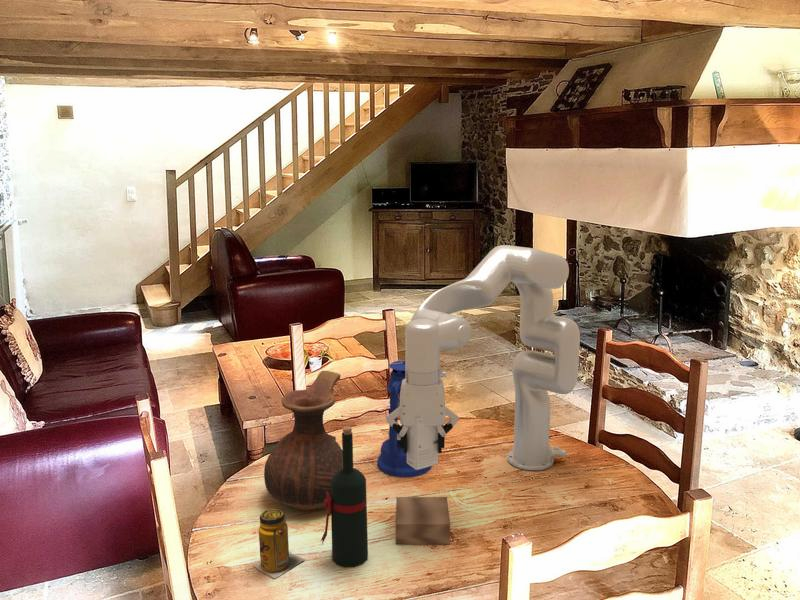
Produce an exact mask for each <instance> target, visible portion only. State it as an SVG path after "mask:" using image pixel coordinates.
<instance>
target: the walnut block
mask: <svg viewBox="0 0 800 600" xmlns="http://www.w3.org/2000/svg"><path fill="white" fill-rule="evenodd" d="M395 500H396V501H395V545H450V544H451V521H450V512H449V504H448V503H449V502H448V496H397V497H396V499H395Z"/></svg>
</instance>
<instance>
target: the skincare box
mask: <svg viewBox="0 0 800 600" xmlns="http://www.w3.org/2000/svg"><path fill="white" fill-rule="evenodd" d="M438 433H439V431H438V429H437V428H436V426H425V425H424V421H423V418H414V424H413V426H409V428H408V430H407V464H409V465H410V466H411V467H413V468H414V469H416V470H419V469H422V468H426V467H429V466H432V467H433V466H435V465H438V463H439V453H438Z"/></svg>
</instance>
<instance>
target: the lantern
mask: <svg viewBox="0 0 800 600" xmlns="http://www.w3.org/2000/svg"><path fill="white" fill-rule="evenodd" d="M388 366H389V368H390V369H391V370H392V371H391V372H389V379H388V386H386V390H387V391H388V392H389V393H390V398H389V405H388V406H387V407H386V408H385V412H384V414H385V418H386V417H387V416H388V415H387V410H388V409H389V414H390V413H392V412H393V411H394V410H396V409H397V408H398V407H399V406H400V391H401V384H402V380H403V379H405V359H404V360H401V359H400V360H395V361H394V360H393V361H392V362H391V363H389V365H388ZM398 417H399V416H398ZM398 417H396V418H395V419H394V420H395V421H396V422H397V423H398ZM388 425H389V428H388V429H389V430H388V431H387V436H388V438H387V439H386V440H384V441H383V442H382V444H381V446H380V455H379V456H378V457H377V459H376V460H377V461H376V466H377V468H378V470H379V471H380V472H381V473H383V474H385V475H387V476H389V477H390V476H391V477H396V478H414V477H419V476H422V475H424V474H426V473H428V472H429V471H430V470H431V469H432V467H433V466H429V467H426V468H422V469H419V470H416V469H414V468H413V467H411V466H410V465H409V464H407V453H404V448H401V437H400V436H399V434H398V433H397V432H396V431H395V430H394V429H393V428H392V426H390V424H389V423H388ZM406 433H407V432H406Z"/></svg>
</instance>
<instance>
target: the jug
mask: <svg viewBox="0 0 800 600" xmlns="http://www.w3.org/2000/svg"><path fill="white" fill-rule="evenodd" d="M339 380H341V374H340V373H339V372H334V371H330V370H321V371H320V372H319V373H318V374H317V377H316V378H315V380H314V381H313V383H312V384H311V385H310V386H309V388H307V389H297V390H296V389H295V390H291V391H289V392H287V393H286V394H285V395H284V396H283V397H282V400H281V404H282V406H283V408H284V409H286V410H289V411H291V412H292V413H293V415H294V422H293V428H292V431H291V432H289V433H287V434H286V435H284V436H283V437H282V438H281V439H280V440H279V441H278V442H277V443H276V444H275V445H274V446H273V448H272V450H271V451H270V453H269V455H268V457H267V458H266V462H265V465H264V469H263V470H264V471H263V475H264V476H263V477H264V485H265V488H266V491H267V492H268V494H269V495H270V496H271V497H272V499H274V500H275V501H277V502H278V503H281V504H282V505H285V506H289V507H292V508H294V509H297V510H301V511H315V510H321V509H323V508H325V502H324V500H325V499H326V491H327V492H328V493H330V496H331V479H332V477H333V475H334V474H335V473H336V472H337V471H339V470H340V469H342V468H343V454H342V446H340V444H339V443H338V442H337V438H336V436H335V435H331V434H329V433H327V431H326V429H325V426H324V413H325V411H326V410H327V409H330V408H331V407H333V406H334V404H335V403H336V401H335V400H336V399H335V398H334V395H333V390H334V387H335V385H336V383H337V382H339Z"/></svg>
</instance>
